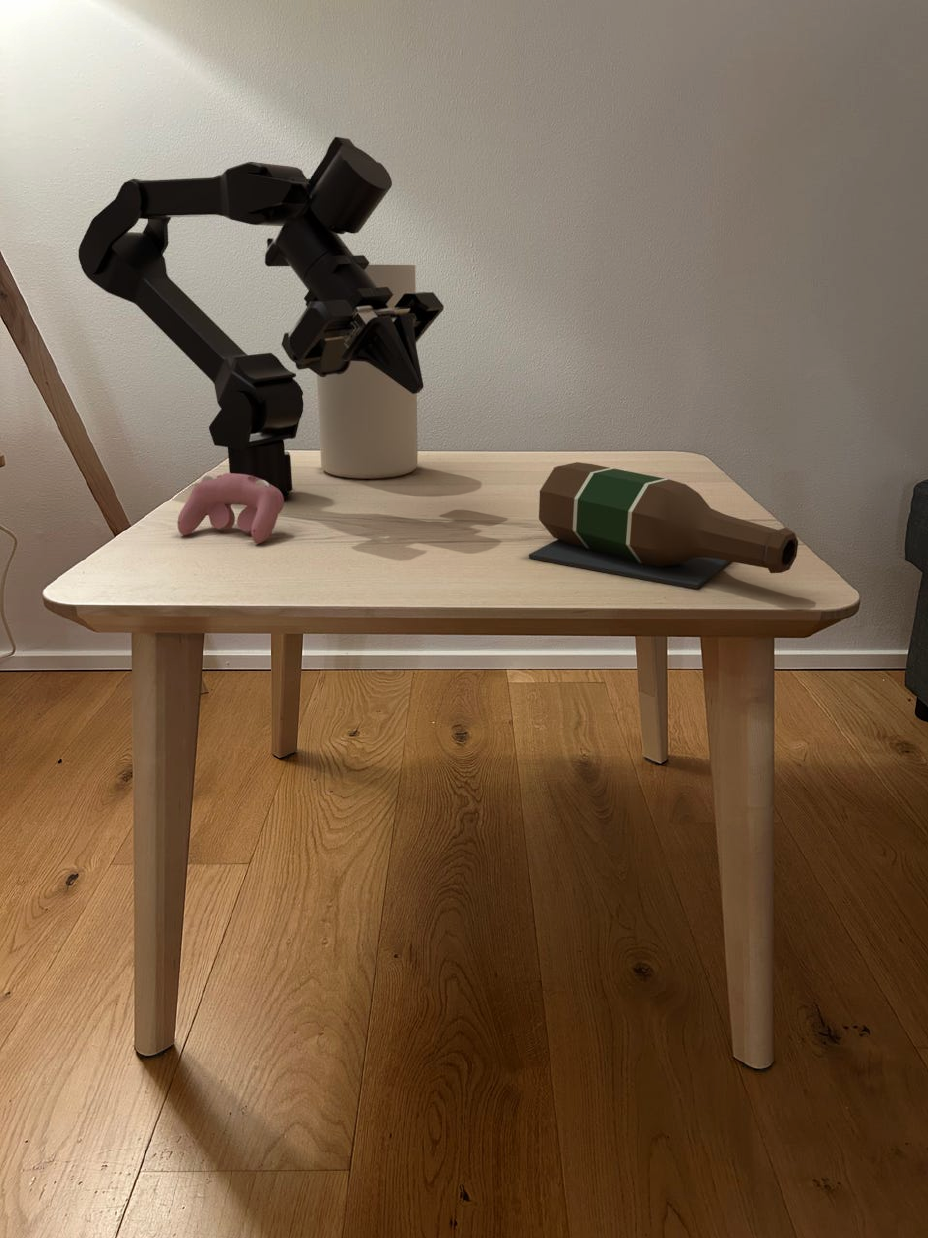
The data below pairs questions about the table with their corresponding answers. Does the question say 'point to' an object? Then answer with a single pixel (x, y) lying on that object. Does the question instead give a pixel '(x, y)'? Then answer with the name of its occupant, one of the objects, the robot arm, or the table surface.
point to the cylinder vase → (369, 407)
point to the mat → (631, 565)
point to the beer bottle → (653, 520)
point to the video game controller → (233, 489)
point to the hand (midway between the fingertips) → (418, 390)
